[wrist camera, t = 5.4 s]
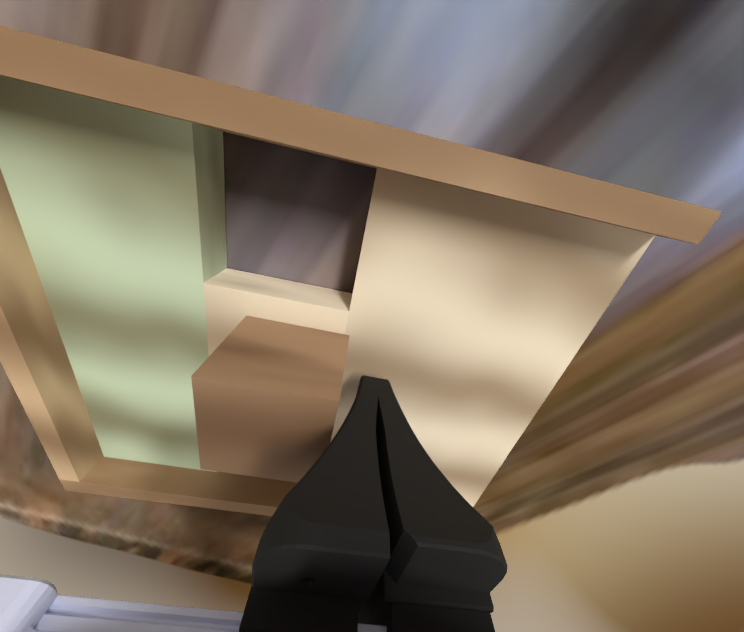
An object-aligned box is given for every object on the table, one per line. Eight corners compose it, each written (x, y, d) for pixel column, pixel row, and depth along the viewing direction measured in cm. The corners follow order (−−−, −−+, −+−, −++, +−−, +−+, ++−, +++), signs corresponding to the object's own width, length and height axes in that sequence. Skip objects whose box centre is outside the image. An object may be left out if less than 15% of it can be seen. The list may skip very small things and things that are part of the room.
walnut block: (334, 408, 14) (320, 485, 11) (245, 393, 14) (200, 468, 10) (349, 335, 12) (339, 401, 9) (246, 315, 12) (191, 375, 8)
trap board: (459, 485, 20) (474, 541, 17) (117, 436, 18) (65, 490, 15) (627, 201, 11) (722, 211, 8) (-4, 42, 9) (-194, -25, 6)
